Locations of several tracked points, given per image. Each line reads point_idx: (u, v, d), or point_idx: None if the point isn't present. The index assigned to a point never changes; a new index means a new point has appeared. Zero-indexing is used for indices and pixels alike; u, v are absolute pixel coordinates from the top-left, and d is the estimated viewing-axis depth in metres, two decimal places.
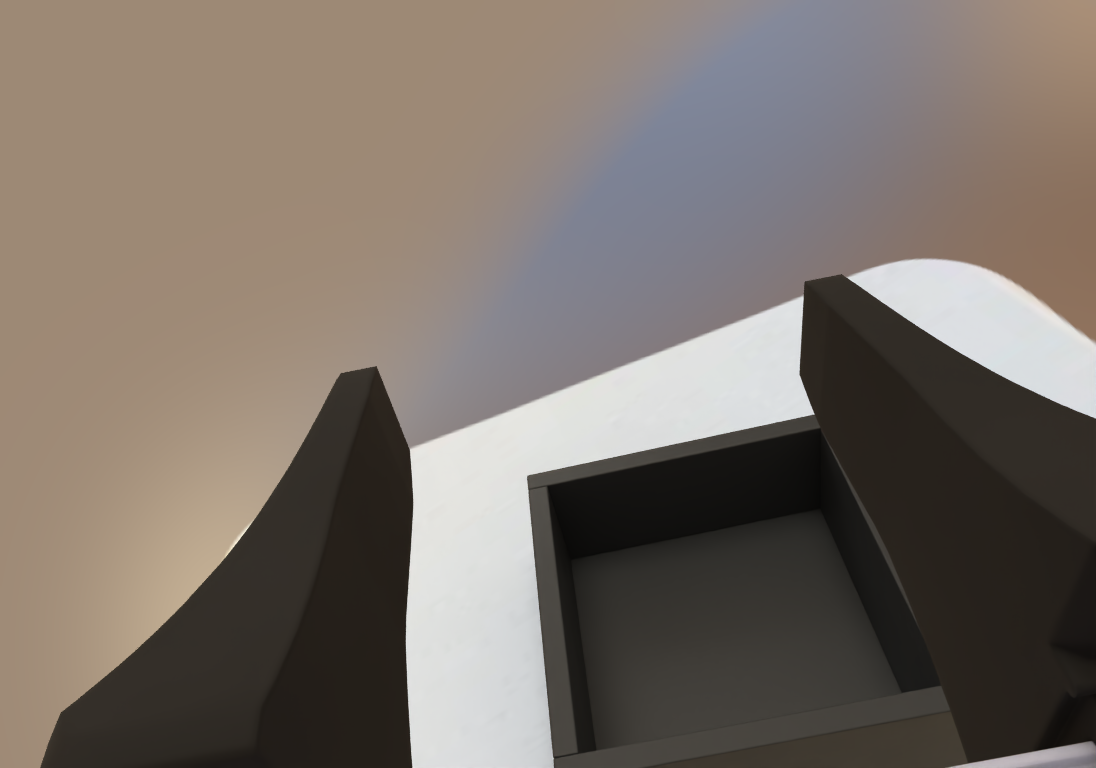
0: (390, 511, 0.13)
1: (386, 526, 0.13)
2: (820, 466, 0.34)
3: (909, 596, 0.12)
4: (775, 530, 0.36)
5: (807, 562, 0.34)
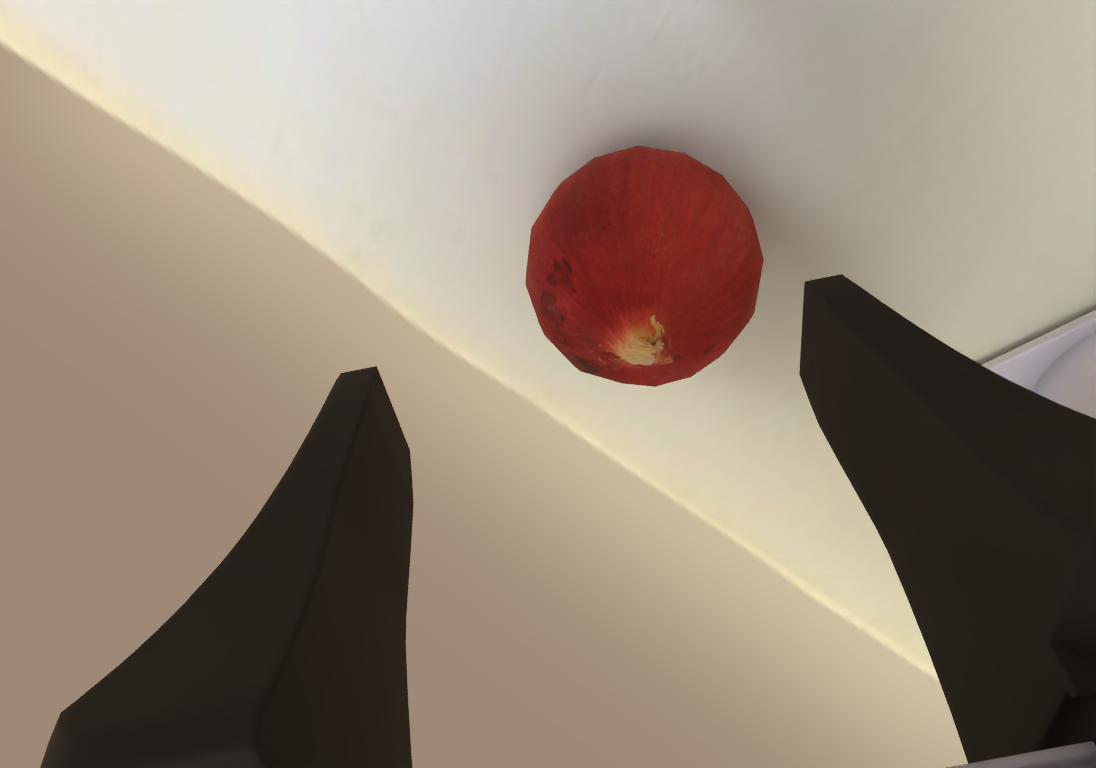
0: (390, 511, 0.13)
1: (386, 526, 0.13)
2: None
3: (909, 596, 0.12)
4: None
5: None
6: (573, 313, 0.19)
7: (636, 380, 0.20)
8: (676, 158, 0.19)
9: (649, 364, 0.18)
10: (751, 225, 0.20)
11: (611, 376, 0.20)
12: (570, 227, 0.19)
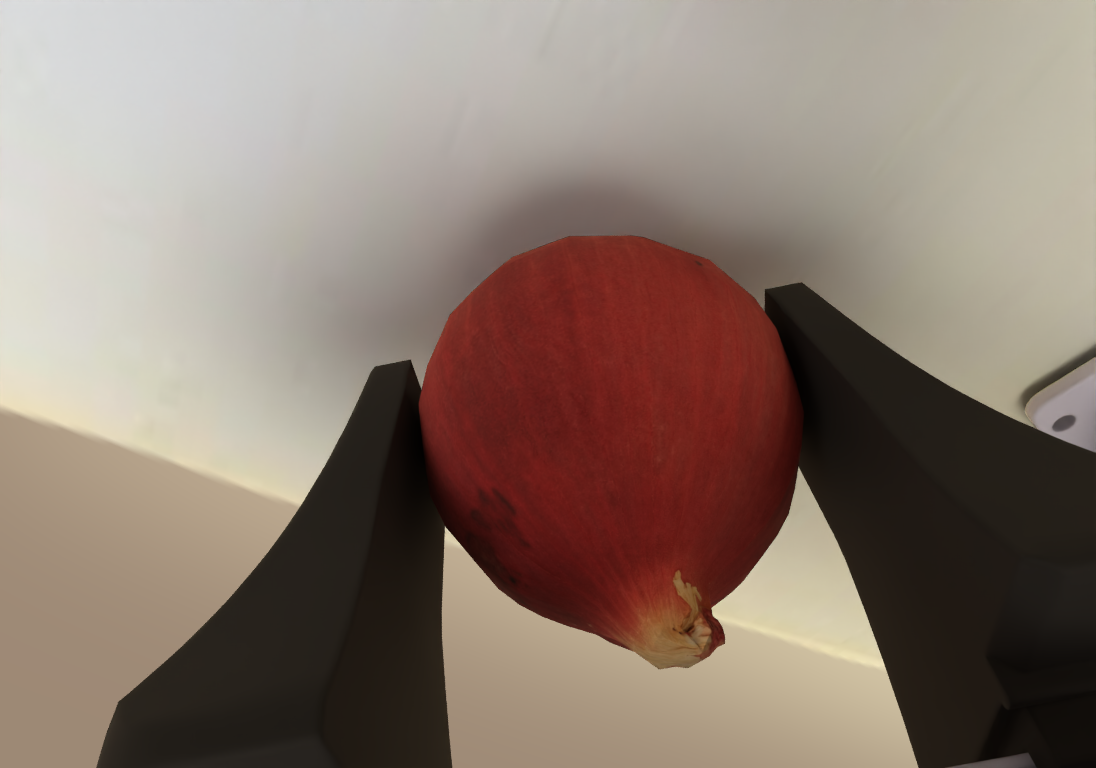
0: (426, 504, 0.13)
1: (423, 519, 0.13)
2: None
3: (865, 604, 0.12)
4: None
5: None
6: (531, 576, 0.11)
7: None
8: (641, 262, 0.11)
9: None
10: (778, 342, 0.12)
11: None
12: (493, 431, 0.11)
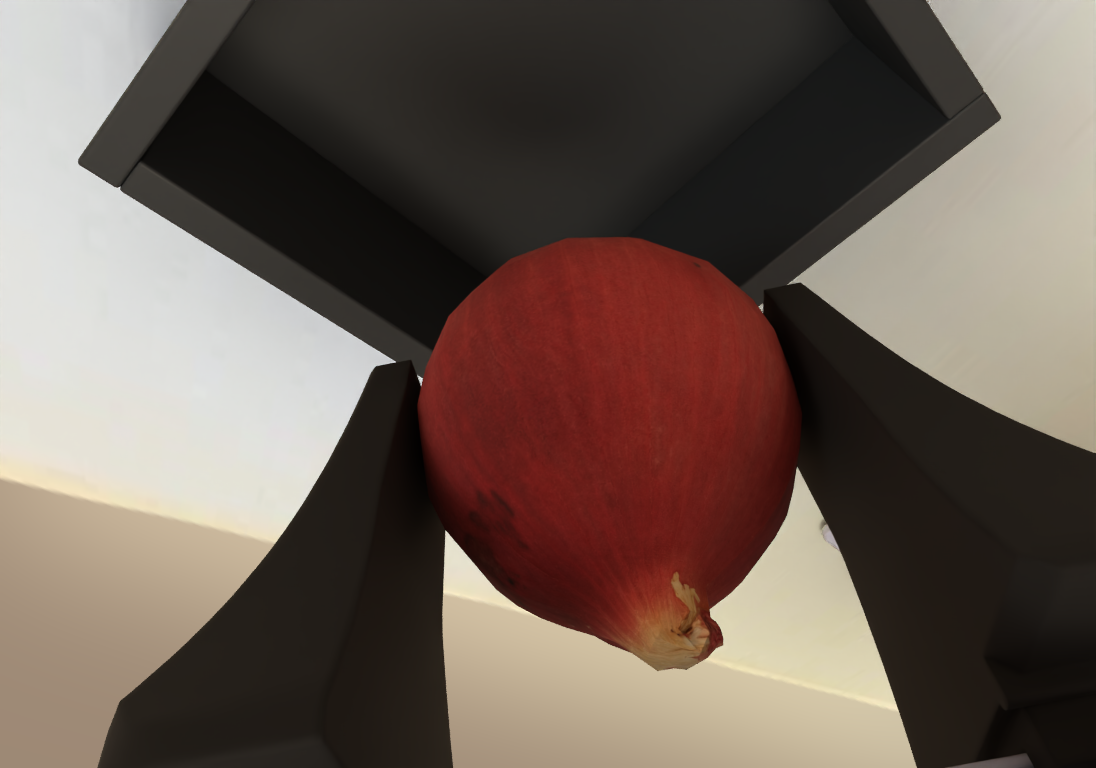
0: (426, 504, 0.13)
1: (423, 519, 0.13)
2: None
3: (863, 605, 0.12)
4: None
5: None
6: (530, 578, 0.11)
7: None
8: (639, 263, 0.11)
9: (689, 667, 0.10)
10: (777, 343, 0.12)
11: None
12: (491, 432, 0.11)
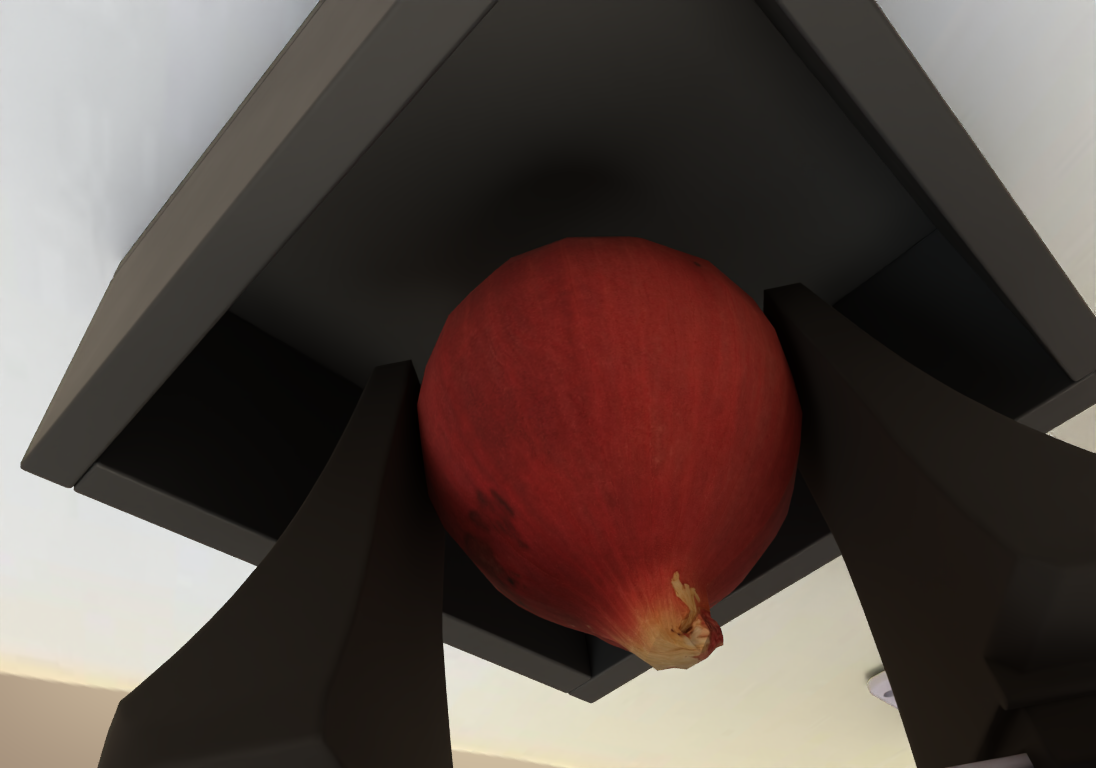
0: (426, 504, 0.13)
1: (423, 519, 0.13)
2: None
3: (863, 605, 0.12)
4: None
5: None
6: (530, 578, 0.11)
7: None
8: (640, 263, 0.11)
9: (689, 667, 0.10)
10: (777, 342, 0.12)
11: None
12: (491, 432, 0.11)
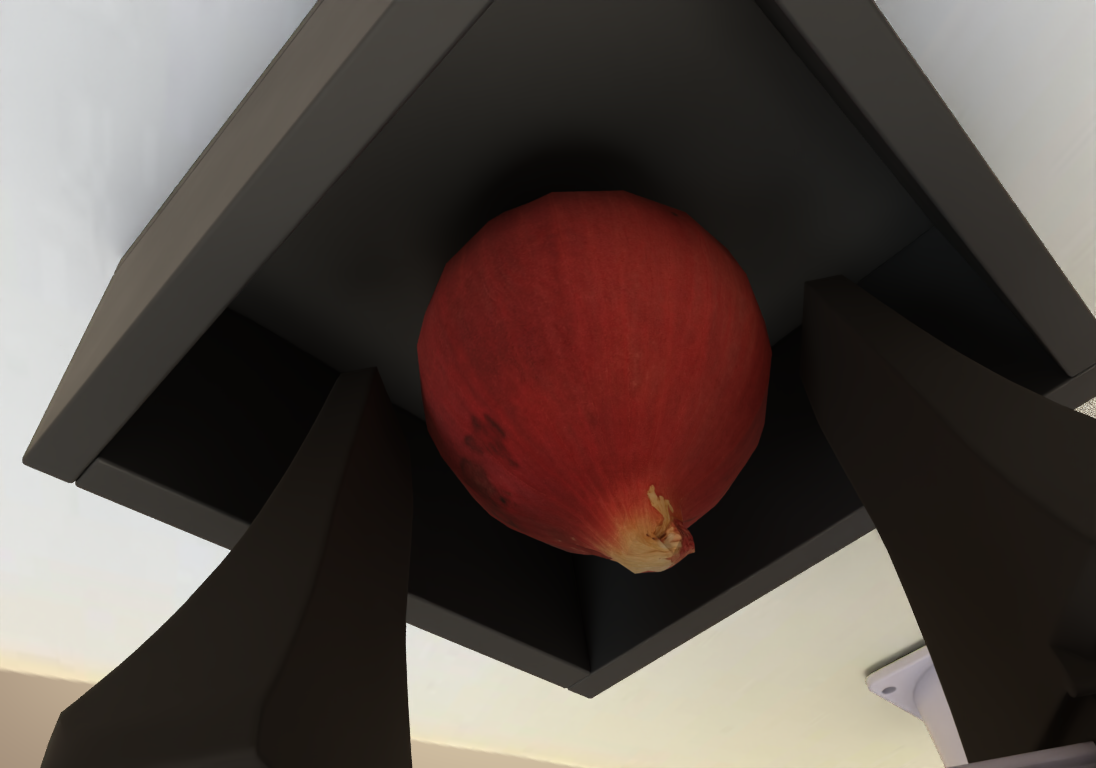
0: (390, 511, 0.13)
1: (386, 526, 0.13)
2: None
3: (909, 596, 0.12)
4: None
5: None
6: (519, 494, 0.12)
7: None
8: (621, 210, 0.12)
9: (663, 570, 0.11)
10: (748, 286, 0.13)
11: None
12: (484, 361, 0.12)
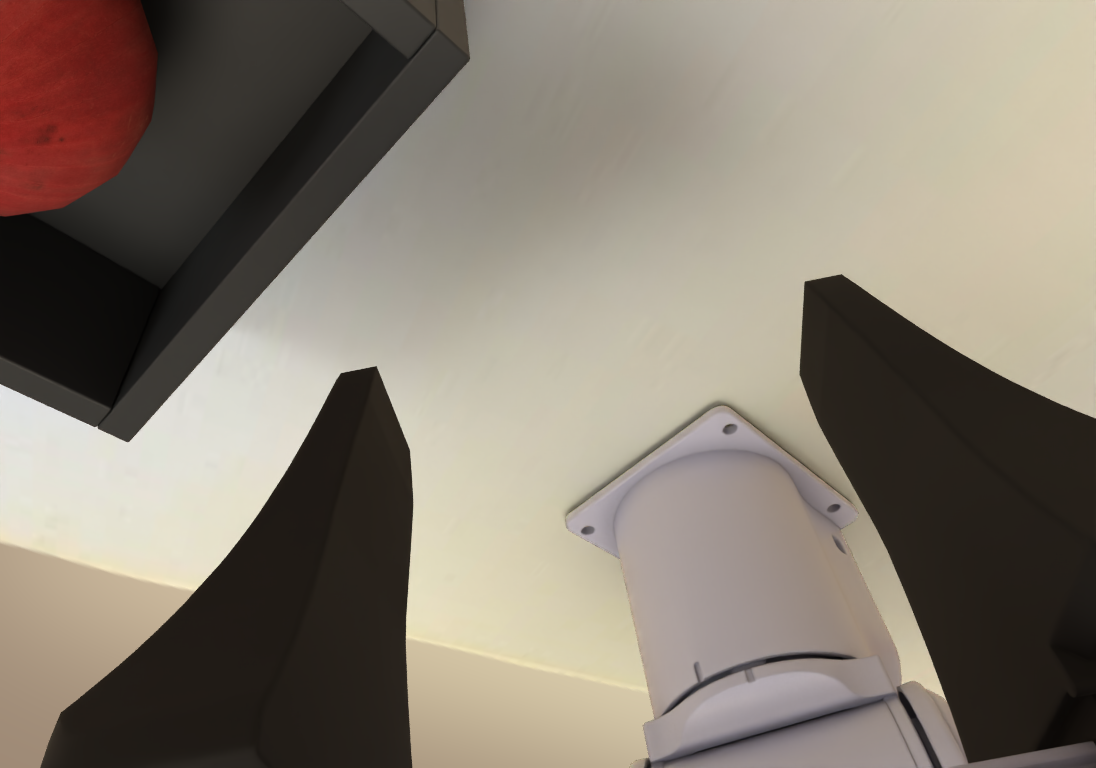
0: (390, 511, 0.13)
1: (386, 526, 0.13)
2: None
3: (909, 596, 0.12)
4: None
5: None
6: None
7: None
8: None
9: None
10: None
11: None
12: None
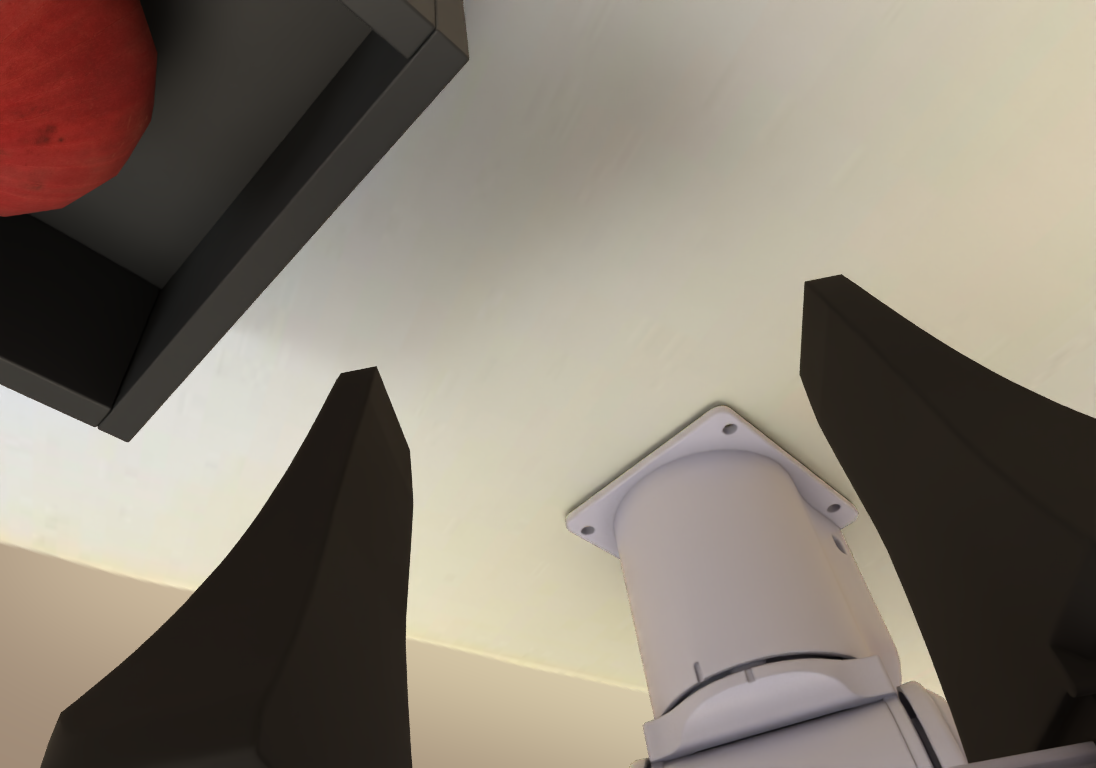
0: (390, 511, 0.13)
1: (386, 526, 0.13)
2: None
3: (909, 596, 0.12)
4: None
5: None
6: None
7: None
8: None
9: None
10: None
11: None
12: None
